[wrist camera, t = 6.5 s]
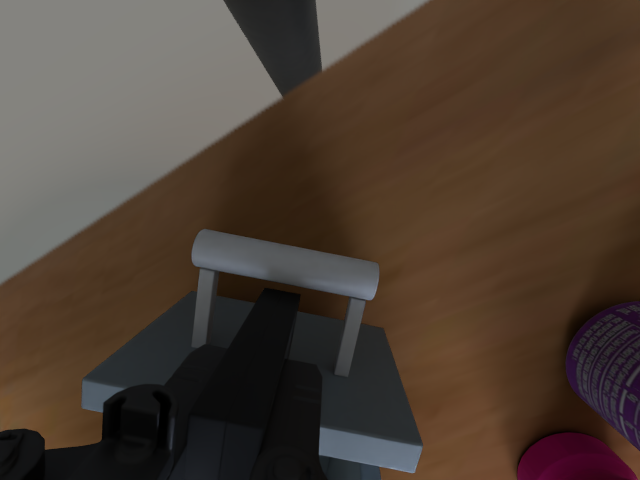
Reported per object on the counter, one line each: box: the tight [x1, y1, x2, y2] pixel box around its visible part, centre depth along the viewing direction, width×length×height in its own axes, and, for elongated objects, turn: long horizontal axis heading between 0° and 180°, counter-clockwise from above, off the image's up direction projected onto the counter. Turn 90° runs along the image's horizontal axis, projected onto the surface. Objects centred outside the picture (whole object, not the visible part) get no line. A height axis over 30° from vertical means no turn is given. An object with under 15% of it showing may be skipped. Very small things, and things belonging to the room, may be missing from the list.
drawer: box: [81, 229, 423, 480], centre depth 14 cm, size 18×11×8 cm, turn 169°
